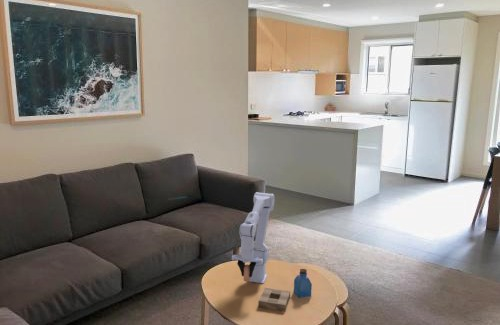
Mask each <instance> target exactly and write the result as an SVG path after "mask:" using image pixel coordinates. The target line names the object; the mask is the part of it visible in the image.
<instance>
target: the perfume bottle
mask: <svg viewBox="0 0 500 325" xmlns="http://www.w3.org/2000/svg"><path fill="white" fill-rule="evenodd" d="M293 281H294V282H293V292H294V294H295V296H297V298H298V299H302V298H308V297H312V282H311V280H310V278H309V277H308V271H307V269H306V268H300V270H299V275H296V276H295V278H294V280H293Z"/></svg>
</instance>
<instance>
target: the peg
mask: <svg viewBox="0 0 500 325" xmlns="http://www.w3.org/2000/svg"><path fill="white" fill-rule="evenodd" d="M243 281H244V282H246V283H249V282H251V281H250V267H249V264H245V265H244V276H243Z"/></svg>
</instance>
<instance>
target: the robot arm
mask: <svg viewBox="0 0 500 325" xmlns="http://www.w3.org/2000/svg"><path fill="white" fill-rule="evenodd" d="M275 201H276V199H275V195H274V193H266V192H259V191H256V192H255V193H254V195H253V208H252V211H249V212H248V214H247V216H246V218H245V220H244V222H243V223H241V224H240V225H239V230H238V233H239V239H240V242H241V245H240V254H232V255H231V261H237V262H236V264H237V266H238V268H239V270H240V273H241V277H244V265H246V263H249V264H248V265H249V267H250V281H249V282H252V283H258V284H264V283H265V281H266V279H267V277H268V273H266V272H267V268H266V267H267V263H268V260H269V255H270V253H269V252H270V250H269V249H270V248H269V247H268V246H267V245H266V244H265V241H266V236H267V230H268V224H269V223H268V222H269V217H270V214H271V212H273V211H274V208H275ZM254 239H255V240H254Z"/></svg>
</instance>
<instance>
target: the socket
mask: <svg viewBox="0 0 500 325" xmlns="http://www.w3.org/2000/svg"><path fill="white" fill-rule="evenodd" d="M290 298H291V291H288V290H282V289H274V288H268V287H264V289H263V290H262V293H261V295H260V297H259V299H258V308H263V309H269V310H275V311H281V312H286V311H287V307H288V305H289V302H290Z"/></svg>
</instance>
